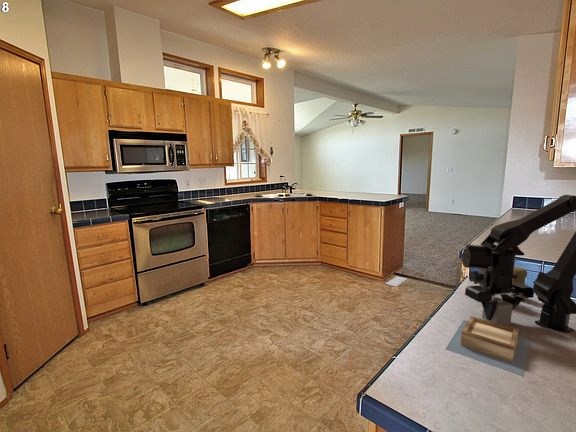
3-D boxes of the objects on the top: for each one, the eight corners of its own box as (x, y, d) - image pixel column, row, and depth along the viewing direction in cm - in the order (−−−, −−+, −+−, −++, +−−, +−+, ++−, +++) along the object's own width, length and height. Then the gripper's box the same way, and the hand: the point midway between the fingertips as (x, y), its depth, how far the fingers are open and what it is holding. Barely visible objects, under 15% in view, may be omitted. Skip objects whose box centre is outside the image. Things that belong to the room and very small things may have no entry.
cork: (529, 301, 109) (533, 271, 107) (509, 300, 110) (513, 270, 109) (520, 294, 115) (523, 265, 113) (501, 293, 116) (505, 264, 114)
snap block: (495, 319, 97) (498, 295, 95) (510, 327, 92) (513, 301, 91) (481, 320, 96) (484, 296, 94) (495, 328, 91) (498, 303, 90)
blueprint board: (463, 322, 94) (463, 320, 94) (529, 341, 84) (530, 338, 84) (444, 351, 79) (445, 348, 79) (523, 379, 69) (523, 376, 69)
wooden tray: (469, 328, 89) (470, 316, 89) (517, 342, 82) (518, 329, 82) (460, 345, 81) (461, 331, 80) (512, 362, 74) (514, 347, 73)
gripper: (504, 259, 101) (499, 304, 103) (454, 262, 97) (450, 309, 99) (538, 270, 90) (531, 320, 92) (482, 274, 86) (477, 327, 89)
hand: (496, 318), depth 93 cm, fingers closed on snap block, 5 cm apart
